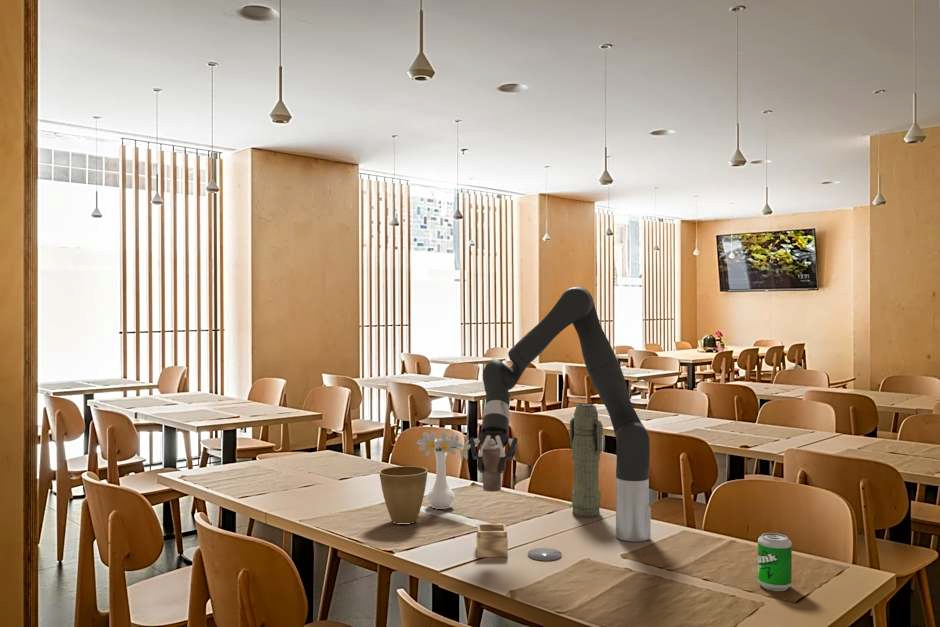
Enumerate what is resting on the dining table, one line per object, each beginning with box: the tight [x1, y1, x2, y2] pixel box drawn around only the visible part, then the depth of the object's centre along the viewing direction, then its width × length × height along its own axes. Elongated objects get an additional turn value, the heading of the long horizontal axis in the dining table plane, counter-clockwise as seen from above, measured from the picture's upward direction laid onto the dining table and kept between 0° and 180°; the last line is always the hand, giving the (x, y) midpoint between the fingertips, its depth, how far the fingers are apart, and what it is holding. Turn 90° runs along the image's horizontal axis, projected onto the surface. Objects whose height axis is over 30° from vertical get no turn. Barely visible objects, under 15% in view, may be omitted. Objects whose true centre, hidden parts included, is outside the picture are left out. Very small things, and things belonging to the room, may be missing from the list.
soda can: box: [757, 532, 793, 592], centre depth 187 cm, size 8×8×12 cm
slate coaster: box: [527, 547, 563, 562], centre depth 211 cm, size 9×9×1 cm
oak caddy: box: [476, 523, 509, 558], centre depth 214 cm, size 8×9×6 cm
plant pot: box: [378, 465, 428, 523], centre depth 244 cm, size 15×15×16 cm
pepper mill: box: [482, 439, 502, 492], centre depth 214 cm, size 5×5×14 cm
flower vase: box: [416, 430, 471, 510], centre depth 261 cm, size 13×18×25 cm
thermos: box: [569, 403, 604, 518], centre depth 252 cm, size 9×12×35 cm
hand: (490, 471), depth 212 cm, fingers closed on pepper mill, 4 cm apart
